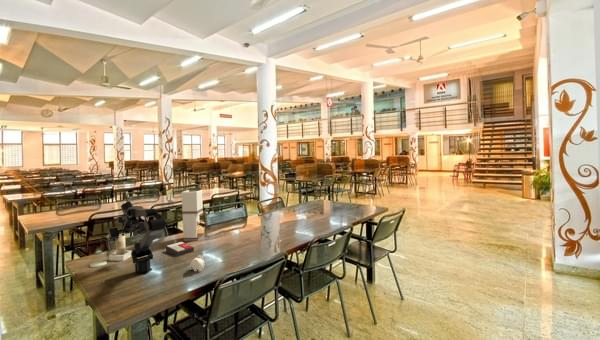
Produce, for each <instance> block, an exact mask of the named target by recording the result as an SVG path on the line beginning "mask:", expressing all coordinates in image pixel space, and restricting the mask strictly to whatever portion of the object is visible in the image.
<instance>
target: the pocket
mask: <svg viewBox="0 0 600 340" xmlns="http://www.w3.org/2000/svg"><path fill="white" fill-rule="evenodd" d="M131 251H132V249H131V250H128V249H126V254H124V255H116V251H115V252H112V253H111V254H109V255H108V261H115V262H116V261H118V262H119V261H120V262H121V261H123V262H124V261H125V260H126V261H127V259H129V258H130V257H131V258H132V256H131Z"/></svg>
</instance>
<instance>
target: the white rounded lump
mask: <svg viewBox="0 0 600 340" xmlns="http://www.w3.org/2000/svg"><path fill="white" fill-rule="evenodd" d="M205 264H206V262H205V258H204V256H203V255H202V254H198V255H197V256H196V257H195V258H193V259H192V261H190V264H189V265H188V266H187V268H189V270H193V271H194V272H200V273H201V272H202V271H203V270H204V269H205V267H206V266H205Z"/></svg>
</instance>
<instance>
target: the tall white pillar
mask: <svg viewBox="0 0 600 340" xmlns="http://www.w3.org/2000/svg"><path fill="white" fill-rule="evenodd" d="M203 207H204V206H203V190H202V189H200V190H197V191H190V190H189V189H187V190H184V191H181V208H182V211H181V212H182V231H183V233H182V234H183V241H186V242H187V241H189V242H190V241H191V242H192V241H200V240H201V239H202V238H203V237H204V236H205V235H204V234H205V233H204V232H198V229H197V228H198V225H200V224H201V223H200V222H201V221H200V215H202V214H203V213H204V209H203Z"/></svg>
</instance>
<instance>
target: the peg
mask: <svg viewBox="0 0 600 340" xmlns="http://www.w3.org/2000/svg"><path fill="white" fill-rule="evenodd" d="M114 240H115V239H114ZM126 250H127V248H126V236H125V235H119V239H118V240H117V241H116V240H115V252H116V255H124V254H126Z"/></svg>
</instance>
